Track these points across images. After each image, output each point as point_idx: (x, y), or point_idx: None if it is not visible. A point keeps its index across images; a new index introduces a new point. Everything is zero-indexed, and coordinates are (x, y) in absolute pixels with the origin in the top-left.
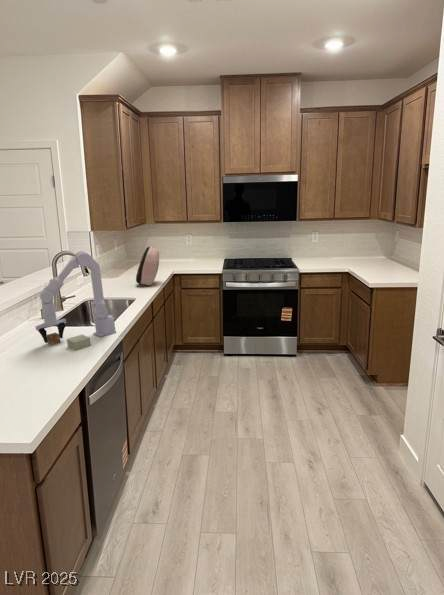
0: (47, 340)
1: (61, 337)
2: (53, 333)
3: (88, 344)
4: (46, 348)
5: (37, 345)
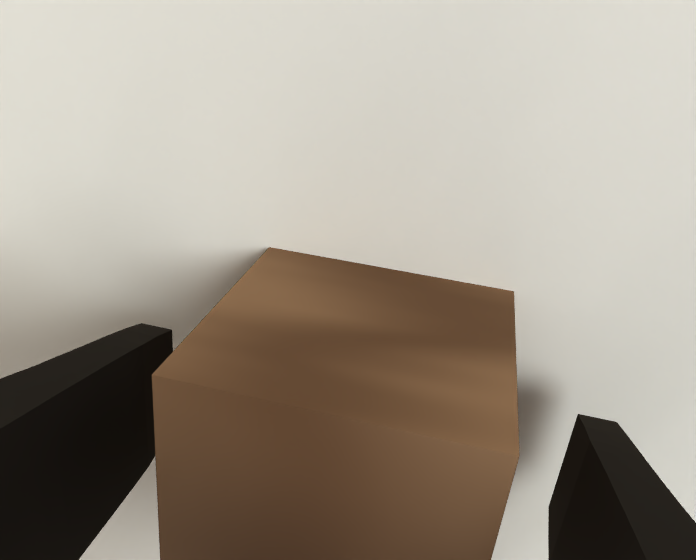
0: (239, 285)
1: (553, 542)
2: (400, 480)
3: None
4: None
5: (35, 150)
